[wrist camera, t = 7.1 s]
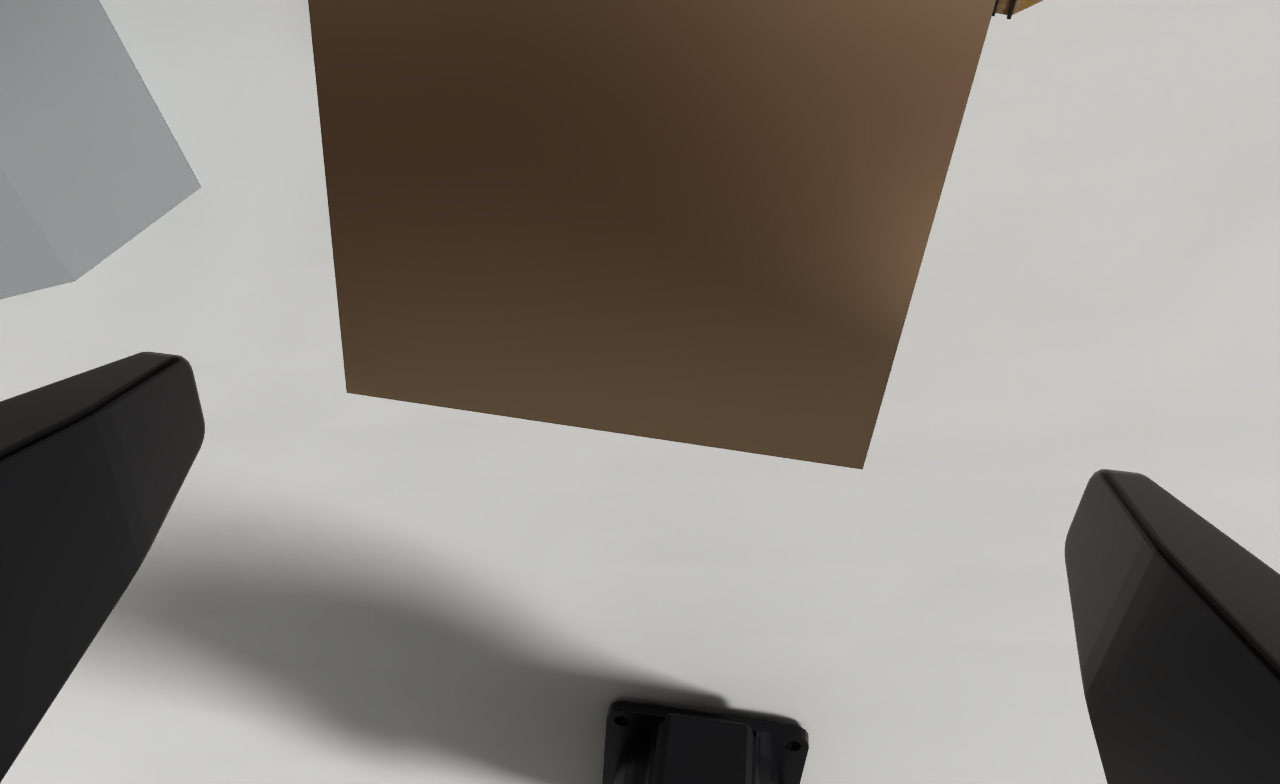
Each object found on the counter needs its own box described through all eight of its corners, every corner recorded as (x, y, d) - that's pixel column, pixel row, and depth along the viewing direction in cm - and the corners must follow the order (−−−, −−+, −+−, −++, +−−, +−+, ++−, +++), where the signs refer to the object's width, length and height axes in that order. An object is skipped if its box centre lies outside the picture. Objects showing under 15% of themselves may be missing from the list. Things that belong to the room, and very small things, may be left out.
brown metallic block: (838, 244, 13) (862, 469, 9) (481, 196, 13) (347, 393, 9) (933, -176, 10) (1032, -129, 6) (480, -227, 11) (286, -216, 6)
